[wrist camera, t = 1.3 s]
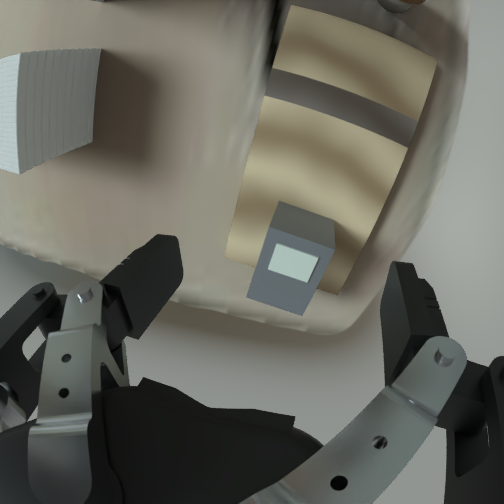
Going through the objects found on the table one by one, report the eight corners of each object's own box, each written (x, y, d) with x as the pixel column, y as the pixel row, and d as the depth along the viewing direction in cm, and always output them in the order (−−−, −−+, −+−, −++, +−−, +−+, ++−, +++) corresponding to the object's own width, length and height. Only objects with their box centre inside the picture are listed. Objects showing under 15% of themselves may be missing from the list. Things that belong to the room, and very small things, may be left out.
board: (337, 287, 29) (337, 295, 28) (227, 250, 30) (223, 256, 29) (432, 61, 16) (438, 60, 15) (292, 8, 17) (290, 4, 16)
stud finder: (307, 280, 28) (302, 317, 24) (258, 264, 29) (245, 298, 24) (334, 220, 24) (335, 251, 20) (279, 200, 25) (268, 227, 20)
